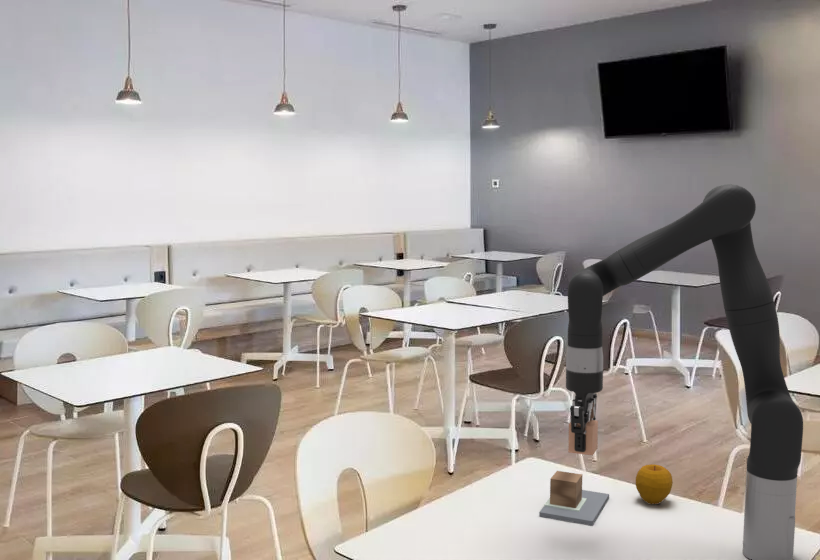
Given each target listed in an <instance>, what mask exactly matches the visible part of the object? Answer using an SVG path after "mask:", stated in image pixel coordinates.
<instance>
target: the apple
mask: <svg viewBox="0 0 820 560" xmlns="http://www.w3.org/2000/svg"><path fill="white" fill-rule="evenodd" d="M673 483H674V482H673V476H672V474H671V472H670V470H669V469H667V468H665V467H664V466H663V465H659V464H653V463H652V464H646V465H642V467H640V468H639V470H638V471H637V473H636V476H635V487H636V490H637V492H638V494H639V496H640V497H641V499H642V500H643V501H644V502H645V503H647V504H648V505H659V504H661V503H662V502H664V500H666V499H667V497H668V496H669V495H670V493H671V490H672V487H673Z"/></svg>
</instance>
